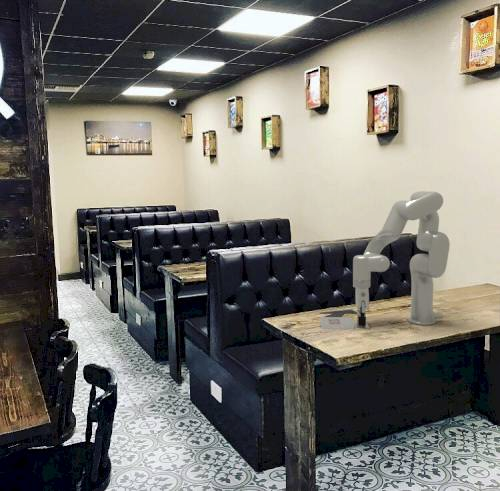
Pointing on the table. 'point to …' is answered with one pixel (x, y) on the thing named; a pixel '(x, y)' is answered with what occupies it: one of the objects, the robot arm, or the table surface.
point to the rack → (339, 323)
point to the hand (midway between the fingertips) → (361, 323)
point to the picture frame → (337, 312)
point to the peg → (357, 316)
